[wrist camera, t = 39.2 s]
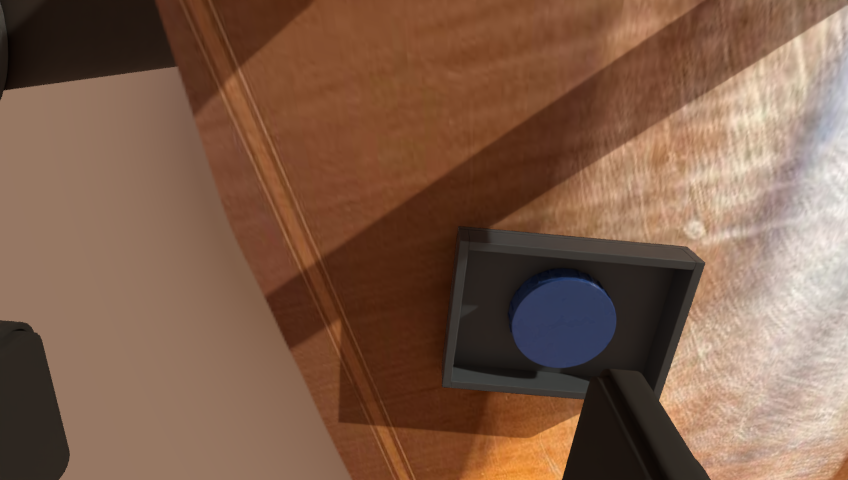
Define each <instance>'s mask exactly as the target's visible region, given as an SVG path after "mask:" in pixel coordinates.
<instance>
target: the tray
mask: <svg viewBox="0 0 848 480" xmlns="http://www.w3.org/2000/svg"><path fill="white" fill-rule="evenodd" d="M704 266H705V262H704V261H703V260H702V259H701V258H699V257H698V256H697V255H696V254H695V253H694V252H693V251H691V250H690V249H689V248H688V247H684V246H673V245H662V244H650V243H639V242H628V241H617V240H606V239H595V238H584V237H572V236H561V235H550V234H539V233H528V232H517V231H505V230H494V229H483V228H472V227H461V226H459V227H458V234H457V243H456V251H455V259H454V268H453V276H452V284H451V293H450V301H449V309H448V318H447V326H446V334H445V343H444V351H443V359H442V387H447V388H450V387H451V388H459V389H470V390H481V391H493V392H504V393H516V394H527V395H539V396H550V397H561V398H573V399H585V396H586V392H587V389H588V385H589V382H590V379H591V378H592V377H594V376H598V377H599V376H600V374H601V372H602V371H603V370H604V369H618V370H630V371H638V372H640V373H641V374H642V375H643V376H644V378H645V379H646V381H647V382H648V384H649V386H650V387H651V389H652V390H653V392H654V394H655V395H656V397H657V399H658V400H659V399H660V396H661V393H662V390H663V387H664V384H665V381H666V378H667V375H668V372H669V369H670V366H671V363H672V360H673V357H674V354H675V351H676V349H677V346H678V343H679V340H680V337H681V334H682V331H683V328H684V325H685V322H686V319H687V316H688V313H689V310H690V307H691V304H692V301H693V298H694V295H695V292H696V289H697V286H698V283H699V280H700V278H701V275H702V272H703V269H704ZM560 268H566V269H574V270H576V269H577V270H578V271H581V272H584V273H586V274H590V276H591V277H593V278H594V279H595V280H596V281H599V282H600V283H601V285H602V287H603V288H604V291H605V290H606V291H607V293H608V295H609V296H610V298H611V302H612V303H613V306H614V308H615V312H616V327H615V332H614V334H613V337H612V339H611V340H610V342H609V344H608V345H607V346H606V348H605V349H604V350H603V351H602V352H601V353H599V354H598V355H597V356H596V357H594V358H593V359H591V360H589V361H587V362H585V363H583V364H580V365H577V366H573V367H567V368H552V367H546V366H543V365H540V364H537V363H535V362H533V361H531V360H530V359H528V358H527V357H526V356H525V355H524V354H523V353H522V352H521V351H520V350H519V349H518V347H517V346H516V344H515V342H514V339H513V335H512V334H511V332H510V328H509V324H510V322H509V317H508V313H509V307H510V301H512V298H513V296H514V295H515V293H516V292H515V291H516V290H518V289H519V288H520V286H521V285H522V284H524V282H525V281H527V280H528V279H530V278H531V277H533V276H535V274H539V273H541V272H544V271H547V270H549V269H550V270H552V269H560Z"/></svg>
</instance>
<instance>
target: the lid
mask: <svg viewBox="0 0 848 480" xmlns="http://www.w3.org/2000/svg"><path fill="white" fill-rule="evenodd" d="M515 292H516V293H515V295H514V296H513V298H512V301H510V307H509V313H508V317H509V322H510V324H509V328H510V332H511V334H512V335H513V339H514V342H515V344H516V346H517V347H518V349H519V350H520V351H521V352H522V353H523V354H524V355H525V356H526V357H527V358H528V359H530V360H531V361H533V362H535V363H537V364H540V365H543V366H546V367H552V368H567V367H573V366H577V365H580V364H583V363H585V362H587V361H589V360H591V359H593V358H594V357H596V356H597V355H598V354H599V353H601V352H602V351H603V350H604V349H605V348H606V346H607V345H608V344H609V342H610V340H611V339H612V337H613V334H614V332H615V327H616V312H615V308H614V306H613V303H612V302H611V298H610V296H609V295H608V293H607V291H606V290H605V291H604V288H603V287H602V285H601V283H600V282H599V281H596V280H595V279H594V278H593V277H591V276H590V274H586V273H584V272H581V271H578V270H577V269H576V270H574V269H566V268H560V269H552V270H550V269H549V270H547V271H544V272H541V273H539V274H535V276H533V277H531V278H530V279H528V280H527V281H525V282H524V284H522V285H521V286H520V288H519V289H518V290H516V291H515Z"/></svg>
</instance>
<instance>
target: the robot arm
mask: <svg viewBox="0 0 848 480" xmlns="http://www.w3.org/2000/svg"><path fill="white" fill-rule="evenodd" d="M69 456H70V453H69V448H68V444H67V439H66V435H65V431H64V428H63V423H62V420H61V415H60V411H59V407H58V403H57V399H56V395H55V391H54V387H53V383H52V379H51V375H50V371H49V367H48V363H47V359H46V355H45V351H44V347H43V343H42V339H41V337H40V335H38V334H37V333H34V331H33V329H32V327H31V326H29V325H28V324H27V323H23V322H14V321H1V320H0V480H59V479H60V477H61V476H62V475H63V473H64V472H65V470H66V468H67V465H68V462H69ZM562 480H711V479H710V478H709V476H708V475H707V473H706V471H705V470H704V468H703V467H702V466H701V465H700V463H699V462H698V461H697V460H696V459H695V458H694V456H693V455H692V453H691V451H690V450H689V448H688V447H687V445H686V443H685V442H684V440H683V439H682V437H681V435H680V434H679V432H678V431H677V429H676V427H675V426H674V424H673V423H672V421H671V419H670V418H669V416H668V415H667V413H666V411H665V410H664V408H663V407H662V405H661V403H660V402H659V400H658V399H657V397H656V395H655V394H654V392H653V390H652V389H651V387H650V386H649V384H648V382H647V381H646V379H645V378H644V376H643V375H642V374H641V373H640V372H638V371H630V370H618V369H604V370H603V371H602V372H601V374H600V376H599V377H598V376H594V377H592V378H591V379H590V382H589V385H588V389H587V392H586V396H585V399H584V403H583V407H582V410H581V414H580V417H579V421H578V425H577V428H576V432H575V435H574V439H573V443H572V446H571V450H570V453H569V457H568V460H567V464H566V468H565V471H564V475H563V478H562Z"/></svg>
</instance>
